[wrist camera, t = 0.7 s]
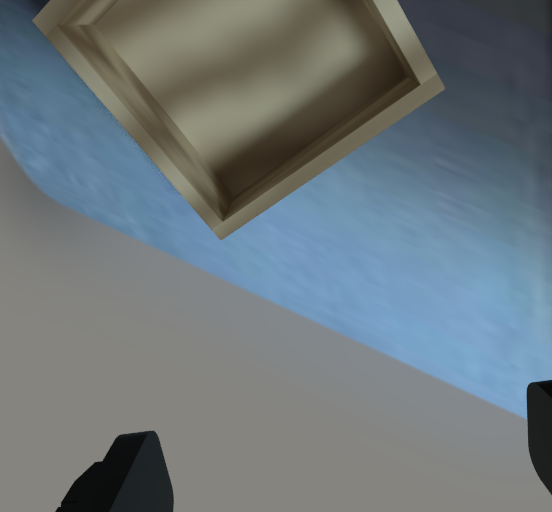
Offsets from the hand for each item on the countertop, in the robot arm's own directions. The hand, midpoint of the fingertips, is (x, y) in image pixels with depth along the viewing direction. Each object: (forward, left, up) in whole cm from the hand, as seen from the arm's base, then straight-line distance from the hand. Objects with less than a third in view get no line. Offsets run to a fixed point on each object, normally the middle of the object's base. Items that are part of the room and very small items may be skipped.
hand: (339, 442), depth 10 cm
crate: (-8, 0, -27) cm, 28 cm away
